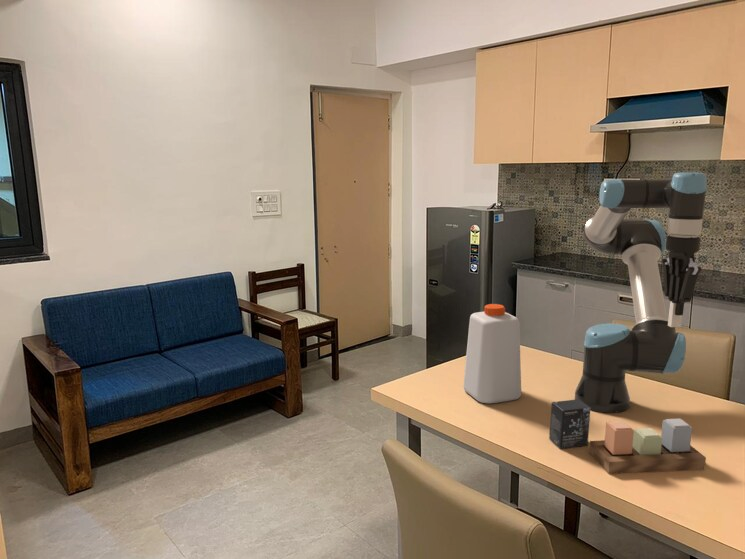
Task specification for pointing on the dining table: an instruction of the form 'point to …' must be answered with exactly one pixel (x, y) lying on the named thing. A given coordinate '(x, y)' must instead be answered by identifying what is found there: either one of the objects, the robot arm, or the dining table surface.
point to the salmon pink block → (618, 437)
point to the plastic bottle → (493, 356)
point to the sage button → (647, 441)
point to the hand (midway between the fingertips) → (674, 326)
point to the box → (569, 423)
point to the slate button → (676, 435)
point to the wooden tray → (646, 460)
